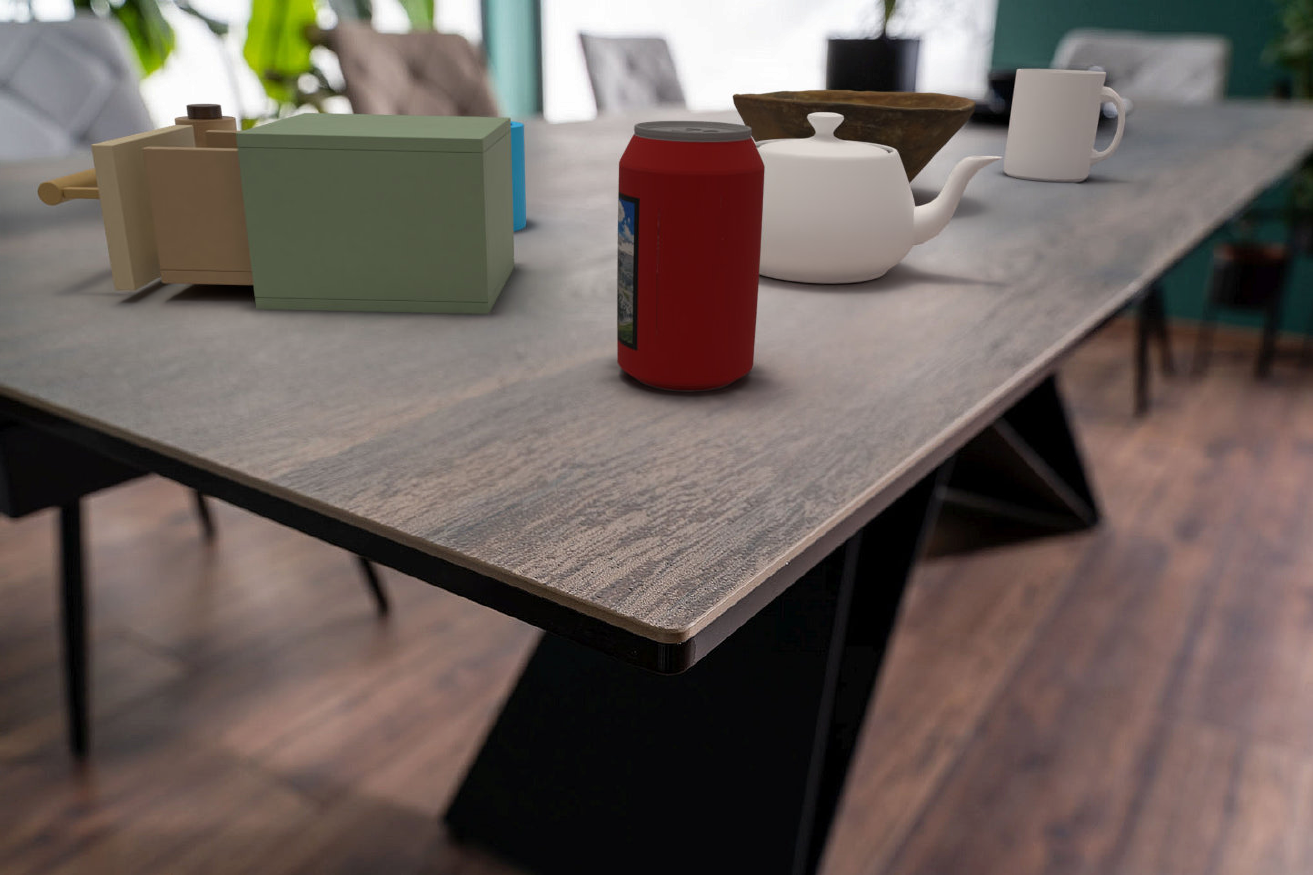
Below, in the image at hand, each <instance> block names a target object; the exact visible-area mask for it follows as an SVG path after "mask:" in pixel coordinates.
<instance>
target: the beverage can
mask: <svg viewBox="0 0 1313 875" xmlns="http://www.w3.org/2000/svg"><path fill="white" fill-rule="evenodd" d="M633 127H634V128H633V131H634V133H633V135H632V136H631V138H630V139H629V142H628V144H627V145H626V147H625V149H624V151H623V153H622V155H621V156H620V159H619V161H618V188H617V189H618V193H617V194H618V195H617V255H616V256H617V262H616V266H617V267H616V268H617V271H616V278H617V279H616V289H617V290H616V298H617V299H616V340H617V342H616V346H617V347H616V350H617V351H616V356H617V357H616V358H617V361H616V362H617V364H618V366H619V367H620V368H621V370H623V371H624V372H625V373H626V374H628V375H630V376H631V377H633V378H634V379H636V380H637V381H638V382H640V383H642V384H643V385H645V386H648V387H651V388H654V389H655V388H656V389H660V390H663V391H664V390H665V391H671V392H686V393H687V392H693V393H694V392H707V391H714V390H717V389H721V388H724V387H727V386H729V385H731V384H732V383H734V382H735V381H738V380H739V379H740V378H743V377H744V376H746V375H747V374H748V373H750V371H751V370H752V369H753V367H754V360H755V358H754V356H755V346H756V345H755V344H756V329H757V318H758V317H757V314H758V300H759V284H760V274H759V269H760V252H761V233H762V215H763V193H764V172H765V166H764V163H763V161H762V158H761V156H760V154H759V152H758V150H757V147H756V145H755V141H754V139H753V137H752V136H751V134H752V129H751V127H749V126H745V124H739V123H731V122H721V121H705V120H654V121H645V122H639V123H636V124H634V126H633Z"/></svg>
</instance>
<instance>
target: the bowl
mask: <svg viewBox="0 0 1313 875" xmlns="http://www.w3.org/2000/svg"><path fill="white" fill-rule="evenodd" d="M732 101H733V102H732V103H733V105H734V107H735V109H736V111H737V113H738V115H739V116H740V118H741V120H742V122H743V125H745V126H749V127H751V129H752V134H751V137H752V139H753V141H754V143H755V142H758V141H764V140H775V139H806V138H810V137H812V136H814V135H815V133H816V132H815V129H814V127H813V126H812V125H811V123H810V122H809V121H808V118H807V117H808V114H812V113H816V112H829V113H837V114H840V115H843V117H844V120H843V121H842V123H841V124H840V125H839V126H838V127H837V128H836V129H835V130H834V132H833V135H834V137H836V138H838V139H841V140H845V141H857V142H866V143H873V144H880V145H885V146H889V147H892V148H894V149H896V150H897V151H898V153H899V155H900V158H901V161H902V164H903V166H904V169H905V172H906V175H907V178H908V181H909V184H911V182H912V181H913V180H914V179H915V178H916V177H917V176H918V175H919V174H920V173H921V172H922V171H923V170H924V169H925V167H926V166H927V165H929V163H930V162H931V161H932V160H933V158H934V157H935V156H937V154H938V153H939V152H940V151H941V150H942V149H943V148H944V147H945V146H946V145H947V144H948V142H949V141H950V140H952V138H953V137H954V136H955V135H956V134H957V133H958V132H959V131H960V130H961V129H962V128H963V126H964V125H965V124H966V123H967V122H968V120H969V119H970V117H971V116H972V115H973V114H974V113H975V109H976V107H977V106H976V105H977V103H976V101H975V100H974V99H970V98H968V97H963V96H959V95H954V94H953V95H952V94H946V93H940V92H912V91H911V92H909V91H908V92H907V91H906V92H905V91H874V90H865V91H857V90H851V89H841V90H840V89H807V90H806V89H805V90H780V91H772V92H764V93H735V94H732Z"/></svg>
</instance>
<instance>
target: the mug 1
mask: <svg viewBox="0 0 1313 875" xmlns="http://www.w3.org/2000/svg"><path fill="white" fill-rule="evenodd" d="M510 131H511V155H512V193H513V232H517V231H521V230H523V229H525V228H526V226H527V199H526V198H527V196H526V195H527V194H526V191H527V190H526V156H525V155H526V154H525V152H526V151H525V148H526V147H525V124H524V123H523V122H519V121H513V120H511V130H510Z"/></svg>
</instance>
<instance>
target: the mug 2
mask: <svg viewBox="0 0 1313 875" xmlns="http://www.w3.org/2000/svg"><path fill="white" fill-rule="evenodd" d="M1106 76H1107V72H1106V71H1097V70H1096V71H1095V70H1078V69H1060V68H1059V69H1056V68H1018V69H1016V73H1015V80H1014V88H1013V93H1012V102H1011V110H1010V116H1009V123H1008V124H1009V125H1008V131H1007V139H1006V146H1005V153H1004V159H1003V171H1004V173H1005V175H1006V176H1008V177H1010V178H1014V179H1020V180H1026V181H1033V182H1046V183H1081V182H1083V181H1085V180H1086V179H1087V178H1088V177H1089V174H1090V171H1091V166H1093V165H1096V164H1097V163H1099V162H1102V161H1105V160H1107V159H1109V158H1110V157H1111V156H1112V155H1113V154H1114V153H1115V152H1116V151H1117V149H1118V148H1119V146H1120V143H1121V140H1122V138H1123V135H1124V132H1125V125H1126V109H1125V105H1124V101H1123V100H1122V98H1121V96H1120V95H1119V93H1117V92H1116V90H1114V89H1112V87H1109V86H1105V82H1106ZM1102 103H1112V104H1113V105H1114V106H1115V109H1116V113H1117V125H1116V126H1117V127H1116V132H1115V135H1114V137H1113V140H1112V142H1111V143H1110V144H1109V146H1108V147H1107V148H1106V149H1105V150H1102V151H1098V150H1097V149H1096V148H1094V147H1095V143H1096V137H1097V132H1098V125H1099V119H1100V112H1101V104H1102Z"/></svg>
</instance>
